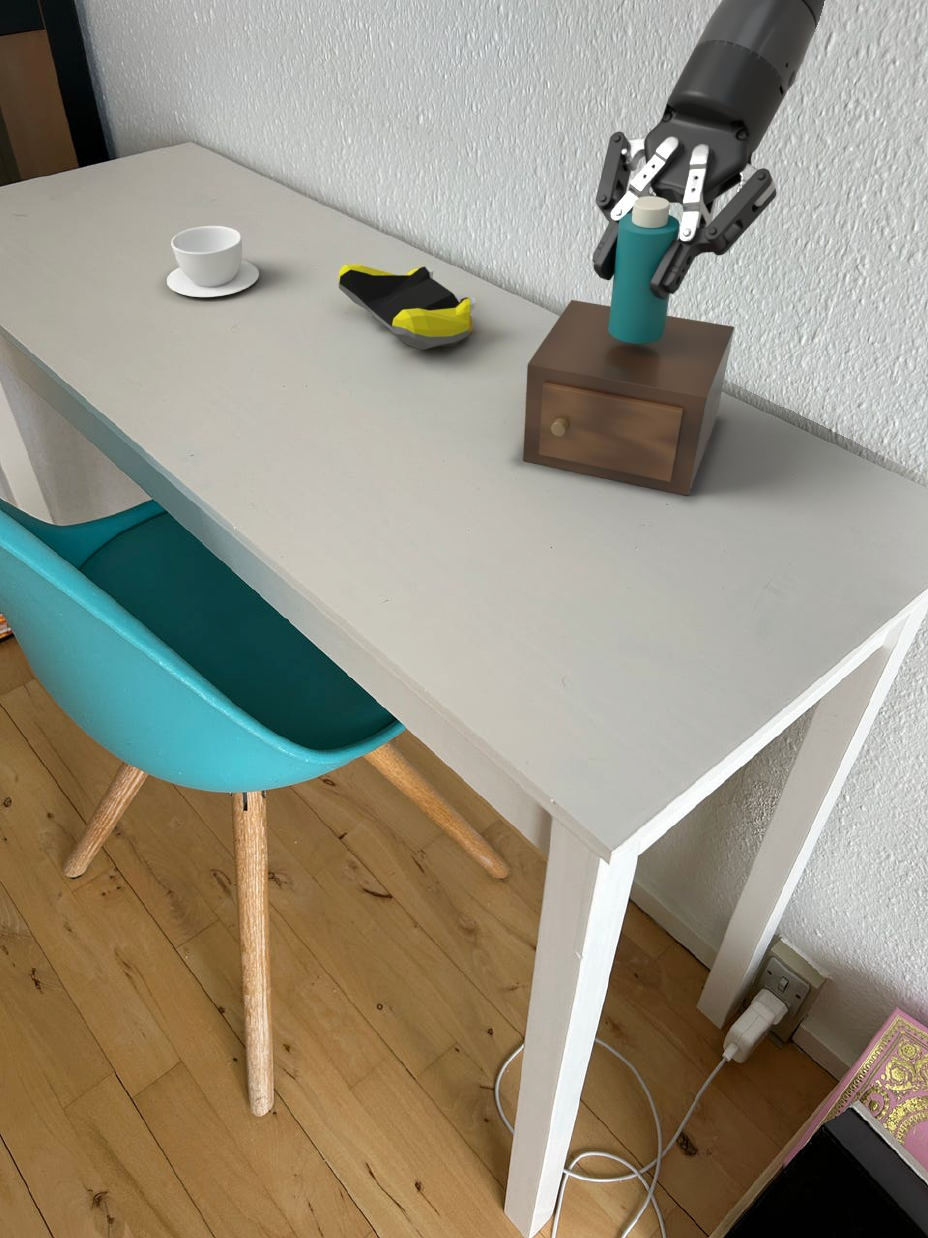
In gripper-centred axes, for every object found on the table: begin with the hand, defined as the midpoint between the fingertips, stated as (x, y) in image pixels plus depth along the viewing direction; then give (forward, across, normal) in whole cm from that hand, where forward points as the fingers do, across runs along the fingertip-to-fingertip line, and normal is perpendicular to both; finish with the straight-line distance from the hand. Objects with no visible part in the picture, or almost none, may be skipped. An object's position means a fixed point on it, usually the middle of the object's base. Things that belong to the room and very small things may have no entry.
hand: (629, 283), depth 73 cm
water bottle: (+2, 0, +5) cm, 5 cm away
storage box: (+9, 0, +12) cm, 15 cm away
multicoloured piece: (+7, -28, +14) cm, 32 cm away
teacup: (+11, -52, +10) cm, 54 cm away
